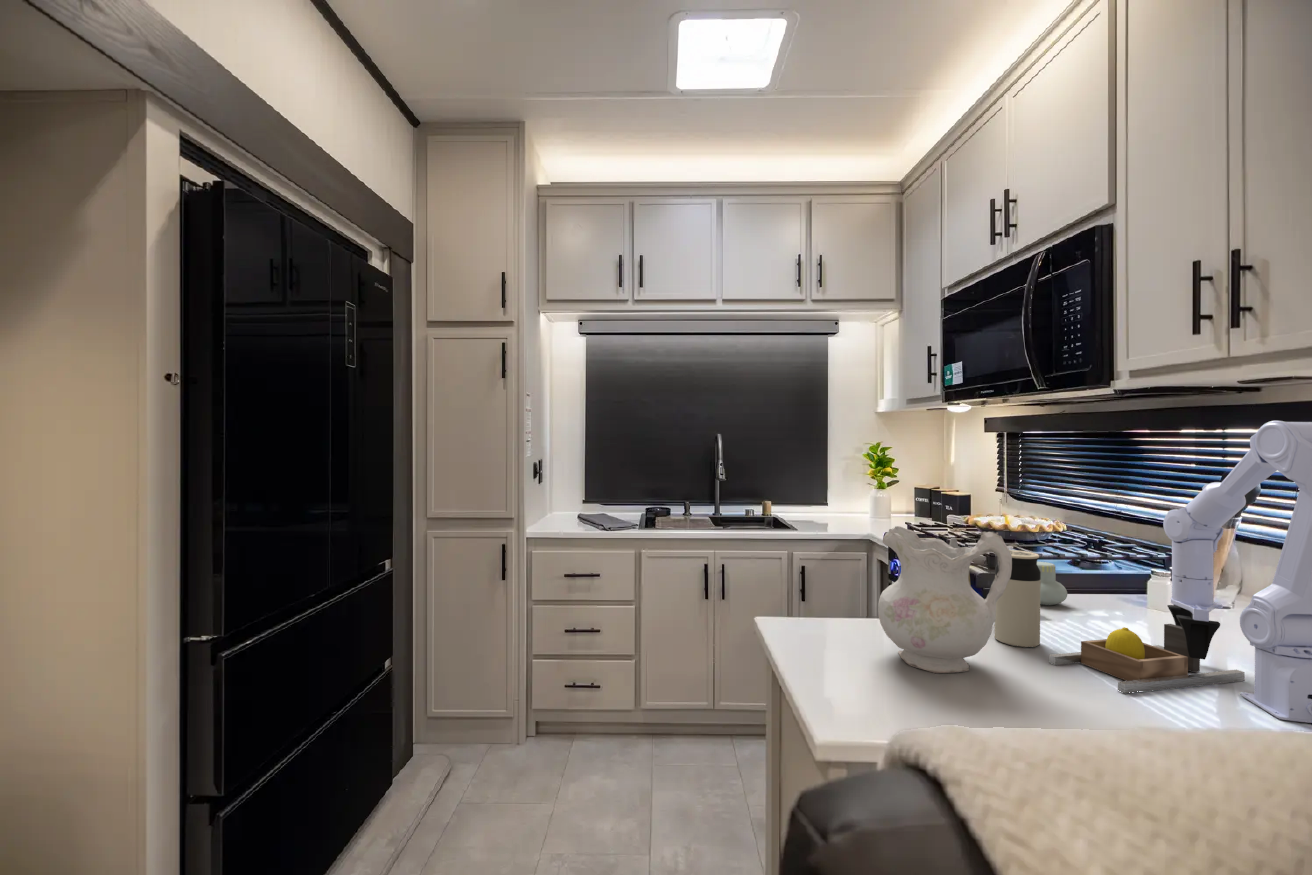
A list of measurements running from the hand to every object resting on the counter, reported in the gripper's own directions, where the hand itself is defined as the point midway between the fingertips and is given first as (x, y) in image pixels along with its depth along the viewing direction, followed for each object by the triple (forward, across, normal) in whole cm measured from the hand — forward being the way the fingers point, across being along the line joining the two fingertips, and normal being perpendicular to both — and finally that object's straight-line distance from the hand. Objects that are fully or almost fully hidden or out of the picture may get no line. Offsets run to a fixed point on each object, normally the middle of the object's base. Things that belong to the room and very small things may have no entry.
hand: (1192, 651), depth 112 cm
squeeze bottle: (+3, +13, +41) cm, 43 cm away
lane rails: (+3, -8, +9) cm, 12 cm away
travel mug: (+3, -1, +27) cm, 28 cm away
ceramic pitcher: (+3, -23, +39) cm, 45 cm away
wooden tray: (+3, -7, +7) cm, 10 cm away
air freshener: (+3, +38, +23) cm, 45 cm away
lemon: (+3, -11, +11) cm, 16 cm away
